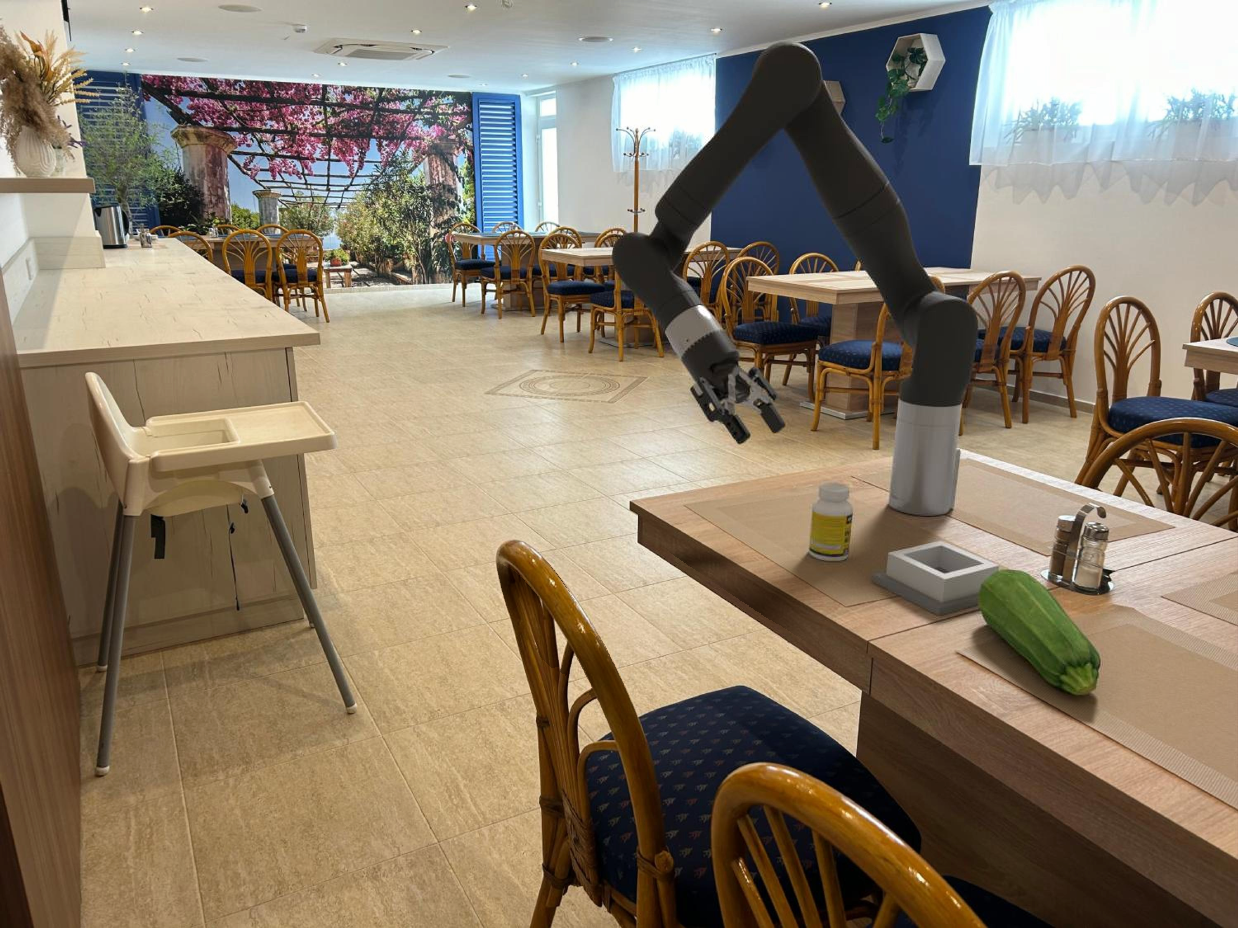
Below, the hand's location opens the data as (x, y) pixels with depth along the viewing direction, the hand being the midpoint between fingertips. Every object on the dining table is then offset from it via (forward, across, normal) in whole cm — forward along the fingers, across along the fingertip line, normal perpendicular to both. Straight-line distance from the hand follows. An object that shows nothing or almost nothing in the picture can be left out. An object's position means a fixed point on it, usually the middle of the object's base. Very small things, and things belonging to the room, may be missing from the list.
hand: (763, 435), depth 127 cm
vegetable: (+41, -10, -20) cm, 46 cm away
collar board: (+30, 0, -9) cm, 31 cm away
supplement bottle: (+19, 0, +2) cm, 19 cm away
